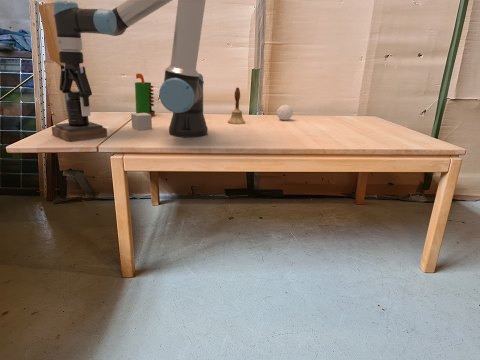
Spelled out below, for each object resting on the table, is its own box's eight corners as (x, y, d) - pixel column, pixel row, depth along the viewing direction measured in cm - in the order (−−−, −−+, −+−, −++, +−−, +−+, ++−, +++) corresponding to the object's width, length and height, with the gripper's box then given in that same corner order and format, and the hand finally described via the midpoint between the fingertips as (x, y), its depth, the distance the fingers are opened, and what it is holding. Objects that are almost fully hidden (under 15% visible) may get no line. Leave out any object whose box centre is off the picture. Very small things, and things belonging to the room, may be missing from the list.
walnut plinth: (107, 136, 136) (106, 125, 135) (69, 141, 127) (67, 130, 125) (89, 130, 145) (88, 120, 144) (52, 135, 135) (51, 124, 134)
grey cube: (132, 128, 153) (131, 113, 151) (145, 127, 156) (144, 112, 154) (138, 130, 148) (137, 115, 146) (152, 129, 152) (151, 114, 150)
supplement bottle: (75, 122, 138) (71, 90, 134) (92, 123, 137) (89, 90, 133) (64, 126, 132) (60, 91, 128) (82, 127, 131) (78, 92, 127)
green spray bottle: (156, 117, 179) (154, 74, 173) (137, 117, 176) (135, 74, 169) (153, 113, 188) (151, 73, 182) (135, 114, 185) (132, 72, 178)
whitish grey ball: (288, 118, 188) (289, 103, 185) (295, 121, 181) (296, 105, 178) (273, 119, 185) (274, 103, 182) (280, 121, 178) (281, 105, 176)
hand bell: (248, 123, 171) (249, 88, 166) (232, 124, 167) (233, 88, 162) (240, 120, 178) (241, 86, 173) (224, 121, 174) (225, 86, 169)
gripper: (44, 50, 132) (52, 109, 139) (76, 51, 116) (83, 119, 123) (66, 50, 137) (72, 108, 144) (98, 52, 121) (104, 117, 128)
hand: (77, 113), depth 133 cm, fingers open, 13 cm apart
